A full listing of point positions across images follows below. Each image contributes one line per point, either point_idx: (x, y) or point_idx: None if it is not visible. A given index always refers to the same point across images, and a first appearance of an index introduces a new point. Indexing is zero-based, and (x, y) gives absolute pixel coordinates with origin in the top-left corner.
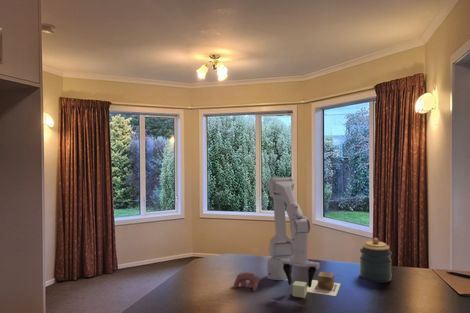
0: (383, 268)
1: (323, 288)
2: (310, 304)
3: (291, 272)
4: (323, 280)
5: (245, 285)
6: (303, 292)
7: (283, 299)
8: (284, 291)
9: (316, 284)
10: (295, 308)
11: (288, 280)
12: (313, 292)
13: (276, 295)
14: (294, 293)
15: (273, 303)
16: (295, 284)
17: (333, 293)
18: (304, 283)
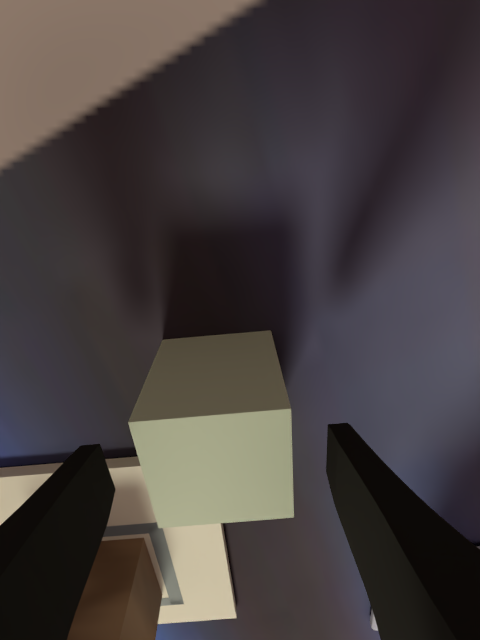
0: None
1: (102, 545)
2: (63, 260)
3: (379, 634)
4: (76, 620)
5: None
6: (156, 373)
7: (340, 252)
8: (369, 412)
9: (179, 578)
10: (147, 71)
11: (370, 458)
12: (139, 469)
13: (423, 310)
14: (255, 352)
15: (424, 89)
16: (257, 432)
17: (2, 508)
18: (168, 496)
